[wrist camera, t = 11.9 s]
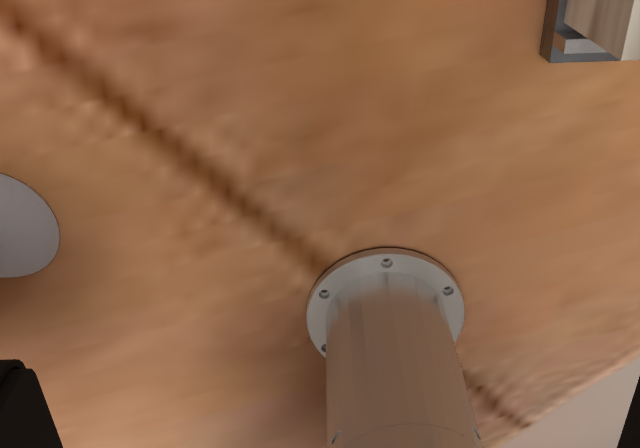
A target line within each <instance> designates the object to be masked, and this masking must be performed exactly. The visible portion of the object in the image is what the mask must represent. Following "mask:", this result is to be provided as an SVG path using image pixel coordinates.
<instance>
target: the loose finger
mask: <svg viewBox="0 0 640 448" xmlns="http://www.w3.org/2000/svg"><path fill="white" fill-rule="evenodd" d="M564 23H565V24H567V25H568V26H570V27H571V28H573V29H574V30H576V31H577V32H579V33H580V34H582V35H583V36H585V37H586V38H588V39H589V40H591V41H592V42H594V43H595V44H597V45H598V46H600V47H601V48H603V49H604V50H606V51H607V52H609V53H610V54H612V55H613V56H615V57H616V58H618V59H619V60H621V61H624V60H640V0H567V6H566V12H565V18H564Z"/></svg>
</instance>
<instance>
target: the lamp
mask: <svg viewBox="0 0 640 448" xmlns="http://www.w3.org/2000/svg"><path fill="white" fill-rule="evenodd" d="M59 241H60V234H59V227H58V224H57V221H56V218H55V216H54V214H53V212H52V211H51V209H50V208H49V206H48V205H47V203H46V202H45V201H44V200H43V199H42V198H41V197H40V196H39V195H38V194H37V193H36V192H35V191H34V190H32V189H31V188H30V187H28V186H27V185H25V184H24V183H22V182H20V181H18V180H16V179H14V178H12V177H9V176H6V175H4V174H0V277H1V278H11V277H20V276H26V275H30V274H33V273H36V272H38V271H39V270H41V269H43V268H44V267H46V266H47V265H48V264H49V263H50V262H51V261H52V260H53V258H54V257H55V255H56V253H57V250H58V247H59Z"/></svg>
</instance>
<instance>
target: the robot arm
mask: <svg viewBox="0 0 640 448" xmlns="http://www.w3.org/2000/svg"><path fill="white" fill-rule="evenodd" d="M386 258H387V259H386ZM464 319H465V306H464V302H463V298H462V294H461V292H460V289H459V287H458V284H457V282H456V281H455V279H454V278H453V276H452V275H451V274H450V272H449V271H448V270H446V269H445V268H444V267H443V266H442V265H441V264H440V263H438V262H437V261H435V260H433V259H431V258H430V257H428V256H426V255H423V254H420V253H417V252H415V251H411V250H405V249H399V248H379V249H372V250H366V251H363V252H360V253H356V254H353V255H351V256H349V257H347V258H345V259H343V260H341V261H339V262H337V263H336V264H335V265H333V266H332V267H331V268H329V269H328V270H327V271H326V272H325V273H324V274H323V275H322V276H321V277H320V278H319V279H318V281H317V282H316V284H315V286H314V287H313V289H312V291H311V293H310V296H309V299H308V302H307V312H306V321H307V330H308V333H309V336H310V339H311V341H312V342H313V344H314V346H315V347H316V349H317V350H318V351H319V352H320V353H321V355H322V356H323V357H324V358H325V359H326V425H327V448H483V446H482V442H481V438H480V435H479V431H478V427H477V424H476V420H475V417H474V413H473V409H472V406H471V402H470V398H469V395H468V391H467V388H466V384H465V380H464V377H463V373H462V369H461V366H460V362H459V358H458V355H457V351H456V348H455V344H454V343H455V342H456V341H457V339H458V337H459V334H460V332H461V330H462V327H463V323H464ZM0 448H63V446H62V443H61V441H60V438H59V435H58V433H57V430H56V427H55V424H54V422H53V419H52V416H51V414H50V411H49V408H48V406H47V403H46V400H45V397H44V395H43V392H42V389H41V387H40V384H39V381H38V379H37V376H36V374H35V372H34V371H33V370H32V369H26V367H25V366H24V364H23V362H21V361H20V360H16V359H12V360H0ZM617 448H640V377H639V380H638V384H637V387H636V390H635V393H634V396H633V399H632V402H631V405H630V408H629V412H628V415H627V418H626V421H625V425H624V427H623V430H622V434H621V437H620V440H619V443H618V446H617Z"/></svg>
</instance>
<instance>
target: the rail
mask: <svg viewBox="0 0 640 448" xmlns="http://www.w3.org/2000/svg"><path fill="white" fill-rule="evenodd" d="M566 6H567V0H547V6H546V13H545V20H544V27H543V33H542V40H541V47H540V55H541V56H542V57H543V58H544V59H546V60H547V61H548V62H549V63H564V62H594V61H621V60H619V59H618V58H616V57H615V56H613V55H612V54H610V53H609V52H607V51H606V50H604V49H603V48H601V47H600V46H598V45H597V44H595V43H594V42H592V41H591V40H589V39H588V38H586V37H585V36H583V35H582V34H580V33H579V32H577V31H576V30H574V29H573V28H571V27H570V26H568V25H567V24H565V23H564V18H565V12H566Z"/></svg>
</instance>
